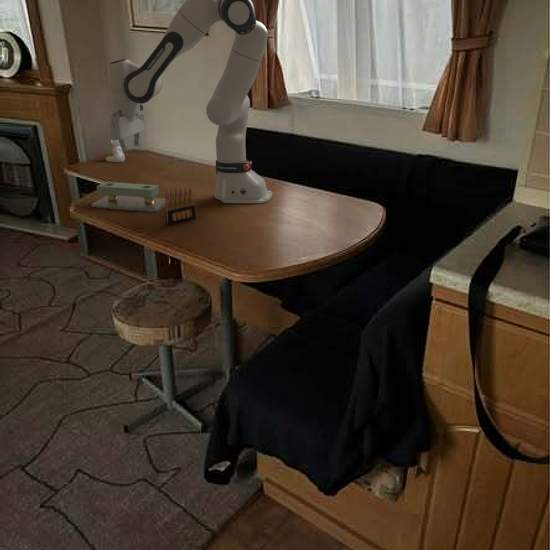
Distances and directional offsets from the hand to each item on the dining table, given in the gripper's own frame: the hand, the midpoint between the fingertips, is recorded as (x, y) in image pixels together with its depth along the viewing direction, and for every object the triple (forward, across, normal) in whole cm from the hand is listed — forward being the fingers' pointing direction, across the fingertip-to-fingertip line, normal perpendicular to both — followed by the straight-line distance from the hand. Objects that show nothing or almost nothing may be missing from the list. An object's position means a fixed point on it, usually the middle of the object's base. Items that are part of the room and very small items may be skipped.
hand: (131, 148), depth 197 cm
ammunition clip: (+21, -18, -24) cm, 37 cm away
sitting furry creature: (+19, +57, +38) cm, 71 cm away
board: (+16, -4, +2) cm, 17 cm away
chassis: (+20, -4, +1) cm, 21 cm away
